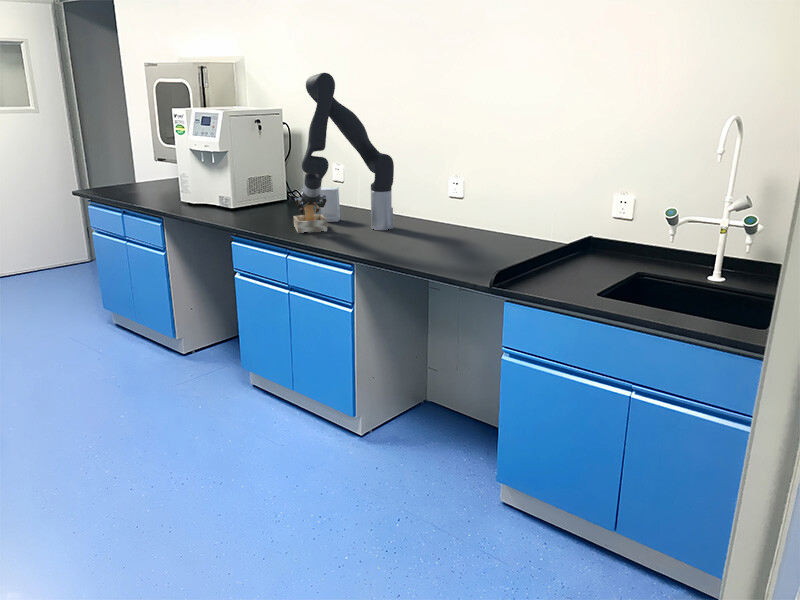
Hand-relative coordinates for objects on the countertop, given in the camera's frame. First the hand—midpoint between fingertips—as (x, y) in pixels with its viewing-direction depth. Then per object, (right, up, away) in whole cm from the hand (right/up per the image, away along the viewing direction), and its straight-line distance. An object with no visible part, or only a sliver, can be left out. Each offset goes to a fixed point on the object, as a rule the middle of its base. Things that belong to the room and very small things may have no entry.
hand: (309, 211), depth 282 cm
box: (0, -8, +1) cm, 8 cm away
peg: (0, -8, +1) cm, 8 cm away
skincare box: (+8, -2, +18) cm, 19 cm away
